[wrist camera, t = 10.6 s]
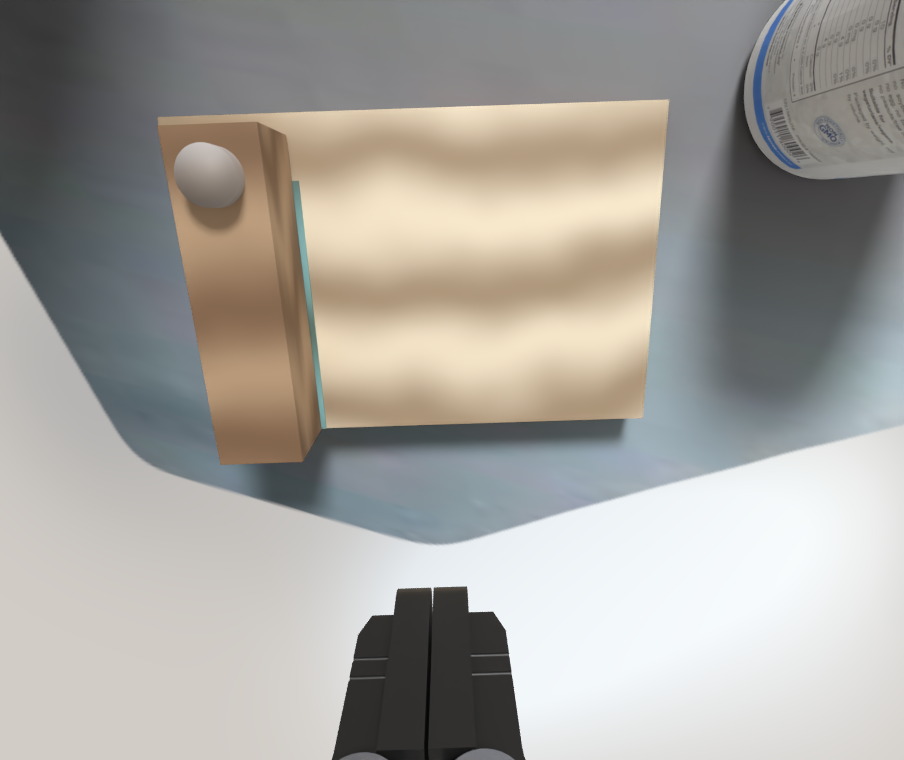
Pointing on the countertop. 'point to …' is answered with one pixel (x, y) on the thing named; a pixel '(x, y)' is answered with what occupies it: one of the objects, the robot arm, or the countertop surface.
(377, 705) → the robot arm
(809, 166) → the supplement tub
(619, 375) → the light wooden board
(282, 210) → the stool leg
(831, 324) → the countertop surface
